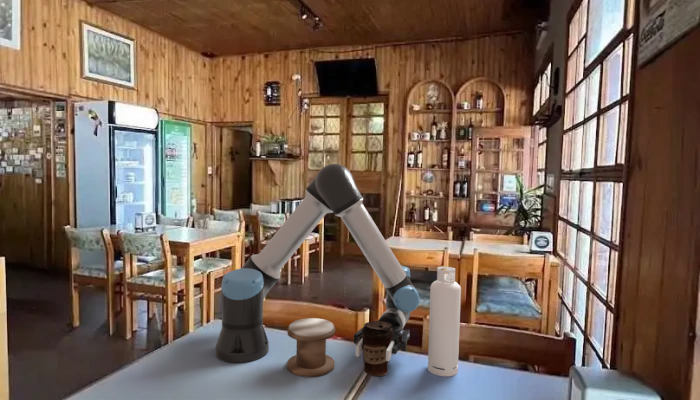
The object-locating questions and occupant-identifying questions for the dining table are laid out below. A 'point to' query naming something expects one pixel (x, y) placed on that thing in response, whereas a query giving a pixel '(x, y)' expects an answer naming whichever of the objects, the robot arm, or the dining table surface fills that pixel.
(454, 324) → the bottle
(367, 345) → the coffee cup
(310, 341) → the cup pedestal
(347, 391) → the dining table surface
